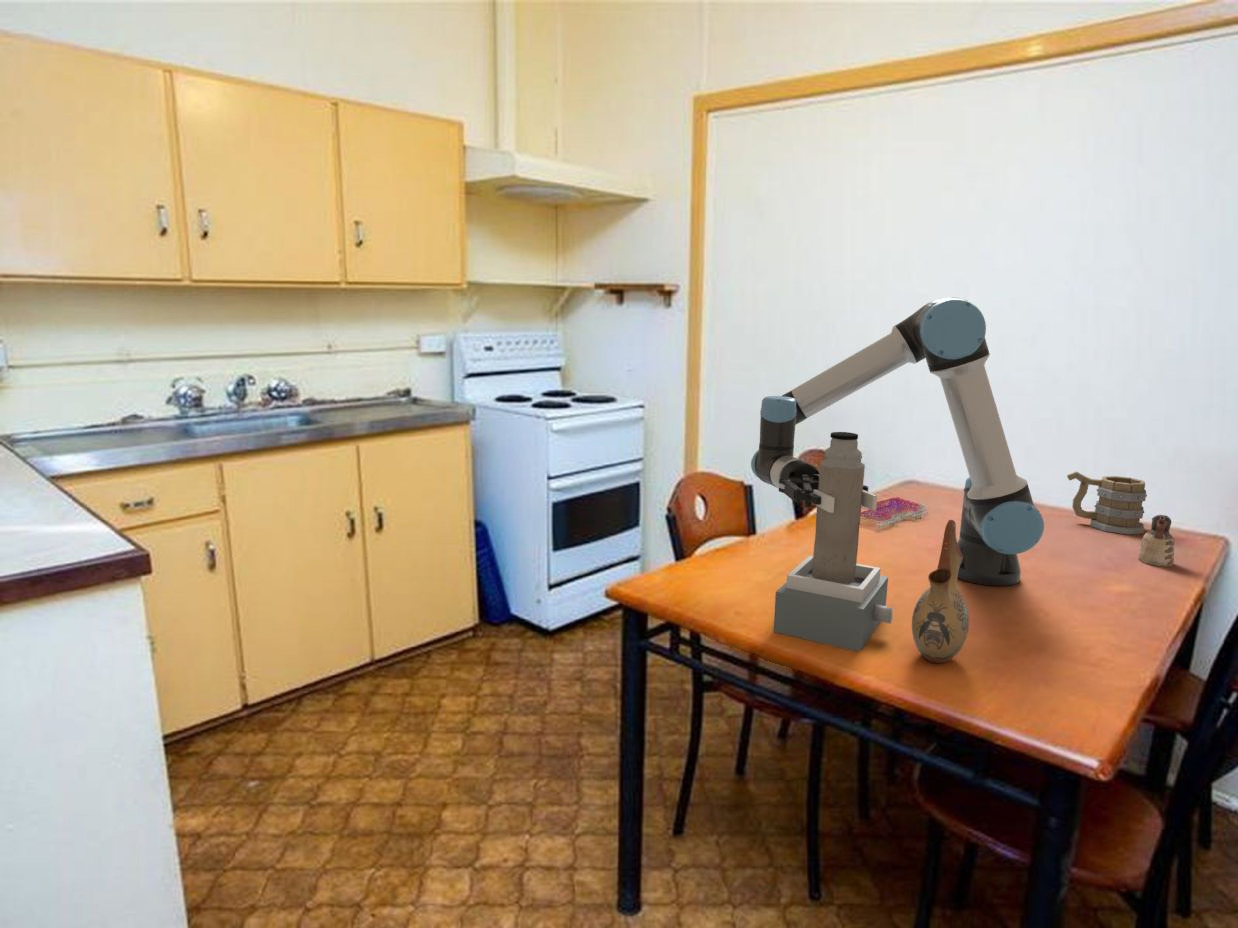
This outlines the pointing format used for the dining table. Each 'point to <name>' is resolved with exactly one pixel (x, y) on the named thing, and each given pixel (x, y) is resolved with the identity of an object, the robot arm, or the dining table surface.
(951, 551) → the ceramic vessel
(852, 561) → the thermos bottle
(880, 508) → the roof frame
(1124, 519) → the tankard
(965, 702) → the dining table surface
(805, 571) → the box
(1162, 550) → the figurine
